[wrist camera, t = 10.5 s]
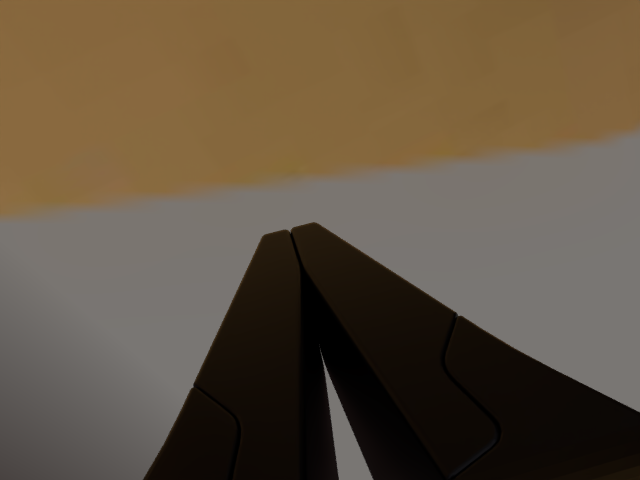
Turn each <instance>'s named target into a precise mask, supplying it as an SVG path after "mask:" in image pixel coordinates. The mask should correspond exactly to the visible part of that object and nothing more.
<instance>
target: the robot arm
mask: <svg viewBox="0 0 640 480" xmlns="http://www.w3.org/2000/svg"><path fill="white" fill-rule="evenodd" d="M319 346H320V347H319ZM320 350H321V351H320ZM321 353H322V356H323V360H324V363H325V366H326V368H327V371H328V374H329V376H330V379H331V381H332V383H333V386H334V388H335V390H336V393H337V395H338V398H339V400H340V402H341V405H342V407H343V409H344V412H345V414H346V416H347V419H348V421H349V423H350V426H351V428H352V431H353V433H354V435H355V438H356V440H357V442H358V445H359V447H360V449H361V452H362V454H363V457H364V459H365V461H366V464H367V466H368V468H369V471H370V473H371V476H372V478H373V480H640V412H638V411H636V410H634V409H632V408H630V407H628V406H626V405H624V404H622V403H620V402H618V401H616V400H614V399H612V398H610V397H608V396H606V395H604V394H602V393H600V392H598V391H596V390H594V389H592V388H590V387H588V386H586V385H584V384H582V383H580V382H578V381H576V380H574V379H572V378H570V377H568V376H566V375H564V374H562V373H560V372H558V371H556V370H554V369H552V368H550V367H549V366H547V365H545V364H543V363H541V362H539V361H537V360H535V359H533V358H532V357H530V356H528V355H526V354H524V353H522V352H520V351H518V350H517V349H515V348H513V347H511V346H510V345H508V344H506V343H505V342H503V341H501V340H500V339H498V338H496V337H495V336H493V335H491V334H490V333H488V332H486V331H485V330H483V329H481V328H480V327H478V326H477V325H475V324H474V323H472V322H471V321H469V320H467V319H466V318H464V317H463V316H458V314H457V313H456V312H454V311H453V310H451V309H450V308H448V307H447V306H445V305H443V304H442V303H440V302H439V301H437V300H436V299H434V298H433V297H431V296H429V295H428V294H427V293H425V292H424V291H422V290H420V289H419V288H417V287H416V286H414V285H413V284H411V283H409V282H408V281H406V280H405V279H403V278H402V277H400V276H399V275H397V274H396V273H394V272H392V271H391V270H389V269H388V268H386V267H385V266H383V265H382V264H380V263H378V262H377V261H375V260H374V259H372V258H370V257H369V256H368V255H366V254H364V253H363V252H361V251H360V250H358V249H357V248H355V247H354V246H352V245H351V244H349V243H347V242H346V241H344V240H343V239H341V238H340V237H338V236H337V235H335V234H333V233H332V232H330V231H329V230H327V229H326V228H324V227H322V226H321V225H319V224H317V223H315V222H313V223H309V224H305V225H301V226H297V227H294V228H292V229H291V234H290V232H289V231H288V230H281V231H277V232H273V233H269V234H265V235H264V236H263V237H262V238H261V241H260V243H259V245H258V247H257V249H256V251H255V254H254V255H253V258H252V260H251V262H250V264H249V266H248V268H247V270H246V273H245V275H244V277H243V279H242V281H241V283H240V286H239V288H238V290H237V292H236V294H235V296H234V298H233V300H232V303H231V305H230V307H229V309H228V311H227V313H226V315H225V318H224V320H223V322H222V324H221V326H220V328H219V331H218V333H217V335H216V337H215V339H214V341H213V343H212V346H211V347H210V350H209V352H208V354H207V356H206V358H205V360H204V363H203V365H202V367H201V369H200V371H199V373H198V375H197V377H196V380H195V382H194V384H193V386H194V387H193V388H191V390H190V392H189V394H188V396H187V398H186V400H185V403H184V405H183V407H182V409H181V411H180V413H179V415H178V417H177V419H176V421H175V423H174V425H173V427H172V429H171V431H170V433H169V435H168V437H167V439H166V441H165V443H164V445H163V446H162V448H161V450H160V451H159V453H158V455H157V457H156V458H155V460H154V462H153V464H152V465H151V467H150V468H149V470H148V472H147V474H146V475H145V477H144V479H143V480H339V477H338V469H337V461H336V454H335V447H334V438H333V431H332V423H331V415H330V407H329V400H328V392H327V384H326V377H325V371H324V365H323V360H322V356H321Z"/></svg>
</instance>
